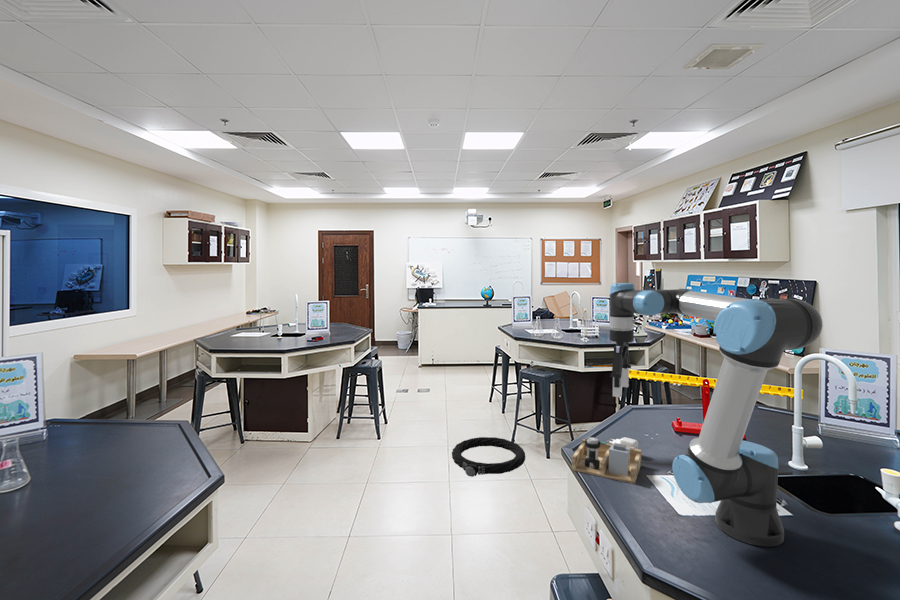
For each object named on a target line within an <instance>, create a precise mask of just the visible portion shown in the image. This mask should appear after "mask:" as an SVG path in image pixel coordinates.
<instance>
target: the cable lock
mask: <svg viewBox="0 0 900 600" xmlns="http://www.w3.org/2000/svg"><path fill="white" fill-rule="evenodd" d="M478 447H495V448H502V449H504V450H507V451H510V452H511V453H513V454H514V455H515V456H514V457H513V458H512V459H509V460H506V461H503V462H495V463H494V462H493V463H491V462H490V463H487V462H486V463H485V462H477V461H473V460H470V459H468V458H466V457H464V456H463V455H462V454H463V453H464V452H465V451H468V450H469V449H473V448H478ZM451 458H452V459H453V463H455V465H457V466H459V468H461V469H463V471H464V473H465V474H466V475H467V476H468V477H470V478H471V477H477V475H478V476H480V475H481V476H482V475H500V474H505V473H510V472H513V471H514V470H516V469H519V468H520V467H521V466H522V465H523V464H524V462H525V461H526V452H525V450H524V448H522V447H521V446H520V445H519V444H518V443H516V442H513V441H510V440H508V439H505V438H500V437H493V436H492V437H487V436H486V437H485V436H483V437H482V436H480V437H474V438H469V439H465V440H463V441H461V442H459V443H457V444H456V445H455V446H454V448H452V452H451Z"/></svg>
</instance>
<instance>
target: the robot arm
mask: <svg viewBox="0 0 900 600" xmlns="http://www.w3.org/2000/svg"><path fill="white" fill-rule="evenodd" d="M608 296H609V328H610V329H609V340H610V341H611V342H615V343H616V344H615V345H614V346H613V356H612V357H613V358H612V365H611V366H612V367H611V373H610V374H609V377H611V378H612V397H614V398H615V397H616V398H622V397H623V396H622V395H623V388H629V379H630V378H629V376H630V375H629V374H630V373H629V371H630V370H629V369H632V365H631V363H630V352H629V351H630V350H629V348H630V347H629V343H632V342H634V339H635V337H634V330H633V329H634V328H635V327H634V326H635V325H634V323H635V324H636V321H637V320H636V319H634V316H635V314H637V315H642V316H656V315H659V314H660V315H661V314H679V315H684V316H690V317H694V318H697V319H704V320H708V321H713V322H714V323H713V334H714V335H715V337H714V338H715V341H716V343H717V344H718V345H719V348H718V350H719V352H720V355H721V356H722V357H723V361H722V364H721V366H720V370H719V373H718V375H717V380H716V382H715V386H714V388H713V392H712V394H711V398H710V401H709V405H708V407H707V411H706V414H705V417H704V420H703V423H702V427H701V430H700V433H699V436H698V437H695V438H692V439H691V441H690V442H689V445H688V447H687V451H686V453H685V454H680V455H678V456H676V457H675V458H674V459H673V461H672V464H671V465H672V468H671V469H672V472H673V473H672V474H673V477H674V480H675V483H676V484H677V487H678V488H679V490H680V491H681V492H682V494H683V495H684V496H685V497H686V498H687V499H688V500H691V501H692V502H694V503H697V504H712V503H716V502H719V504H718V506H717V508H716V511H715V512H714V513H715V515H714V519H715V520H714V521H715V524H716V526H717V527H718V529H719V530H720V531H722V532H723V533H724V534H726V535H727V536H730V537H731V538H732V539H735V540H737V541H740V542H743V543H745V544H749V545H753V546H758V547H767V548H770V547H778V546H781V544H783V543H784V541H785V530H784V529H785V528H784V527H783V526H784V525H783V524H782V520H781V517H780V515H779V512H778V509H777V502H778V501H777V500H778V479H779V478H778V477H779V470H780V467H779V459H778V458H779V457H778V455H777V454H776V453H775V451H773V449H771V448H768V447H766V446H764V445H762V444H759V443H755V442H751V441H747V440H744V437H745V433H746V431H747V429H748V425H749V423H750V419H751V417H752V414H753V411H754V409H755V405H756V403H757V402H758V398H759V396H760V393H761V390H762V386H763V384H764V380H765V379H766V375H767V373H768V371H770V370H773V369H776V368H778V367H779V364H780V362H781V359H782V356H783V355H784V352H785V351H790V350H791V351H792V350H793V351H794V350H799V349H802V348H806V347H808V346H810V345H811V344H813V343H814V342H815V341H817V339H818V338H819V337H820V336H821V333H822V330H823V319H822V316H821V314H820V312H819V311H818V310H817V308H815V306H814V305H812V304H810V303H809V302H806V301H804V300H800V299H796V298H766V299H756V298H753V299H751V298H743V297H738V296H737V297H736V296H730V295H722V294H715V293H708V292H701V291H700V292H699V291H695V290H694V289H689V288H675V289H673V288H672V289H643V290H642V289H635V284H634V283H632V282H615V283H612V284H610V291H609V295H608Z"/></svg>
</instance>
